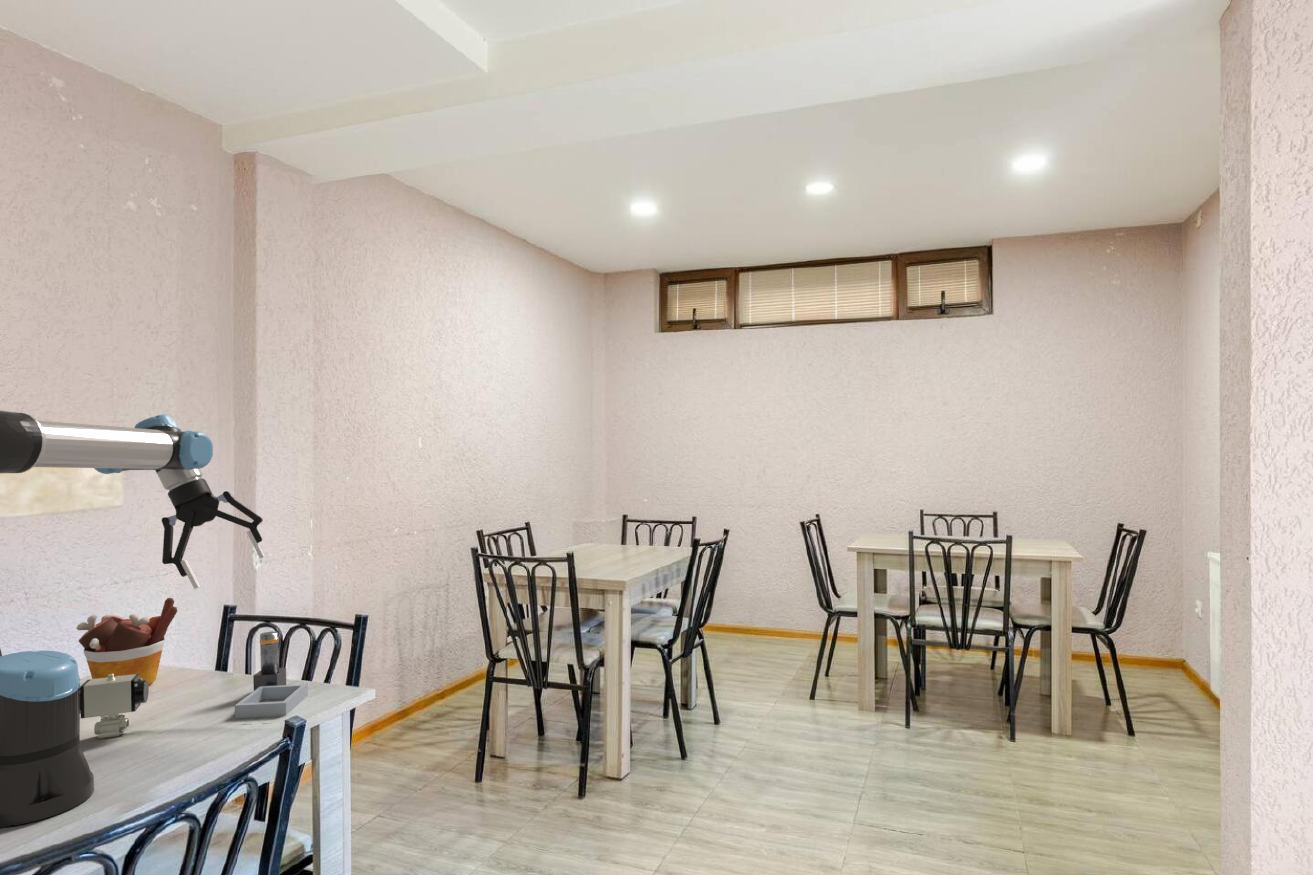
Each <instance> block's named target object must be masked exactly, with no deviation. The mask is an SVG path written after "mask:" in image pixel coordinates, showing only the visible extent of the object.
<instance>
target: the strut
mask: <svg viewBox="0 0 1313 875" xmlns="http://www.w3.org/2000/svg"><path fill="white" fill-rule="evenodd" d="M279 643H280V636H279V632H278V631H267V632H266V631H265V632H262V633H260V635H259V644H260V646H259V647H260V654H259V655H260V670H259V671H258V672H256V673H255V674H254V675H252V676H253V691H255V690H256V689H257V688H259V687H260V686H280V685H287V667H280V662H279V661H280V660H279V657H280V655H279Z"/></svg>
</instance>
